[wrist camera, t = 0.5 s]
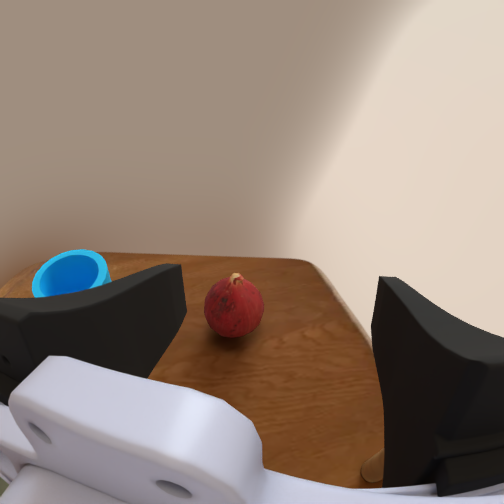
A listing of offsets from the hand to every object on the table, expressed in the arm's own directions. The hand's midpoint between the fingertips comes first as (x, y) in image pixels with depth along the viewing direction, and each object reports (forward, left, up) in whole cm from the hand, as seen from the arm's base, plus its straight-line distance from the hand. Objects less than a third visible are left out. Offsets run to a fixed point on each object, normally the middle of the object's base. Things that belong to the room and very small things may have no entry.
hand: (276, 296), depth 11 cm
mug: (+9, +17, -20) cm, 28 cm away
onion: (+13, +3, -20) cm, 24 cm away
